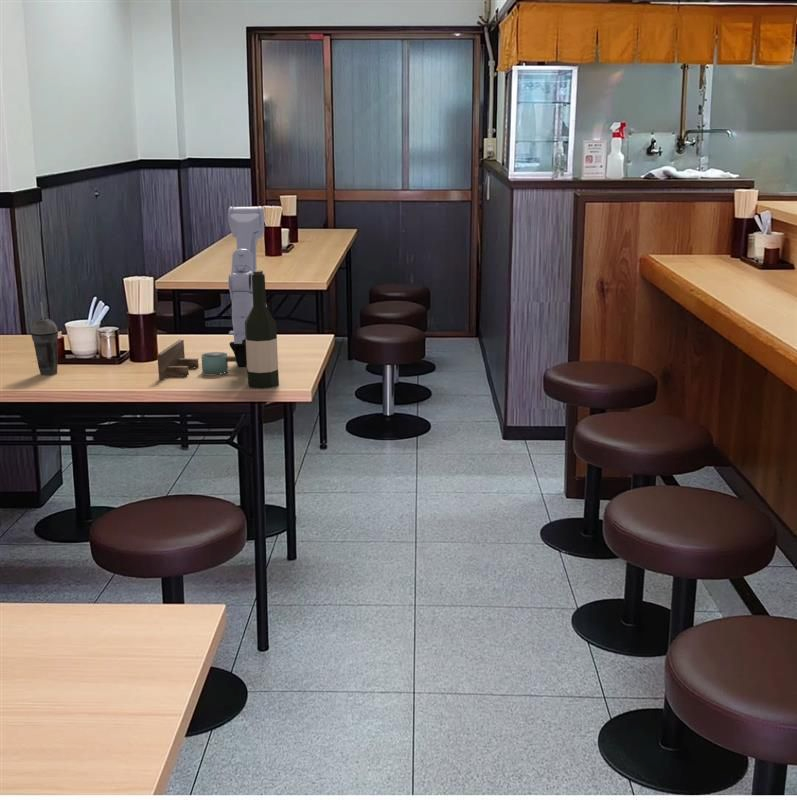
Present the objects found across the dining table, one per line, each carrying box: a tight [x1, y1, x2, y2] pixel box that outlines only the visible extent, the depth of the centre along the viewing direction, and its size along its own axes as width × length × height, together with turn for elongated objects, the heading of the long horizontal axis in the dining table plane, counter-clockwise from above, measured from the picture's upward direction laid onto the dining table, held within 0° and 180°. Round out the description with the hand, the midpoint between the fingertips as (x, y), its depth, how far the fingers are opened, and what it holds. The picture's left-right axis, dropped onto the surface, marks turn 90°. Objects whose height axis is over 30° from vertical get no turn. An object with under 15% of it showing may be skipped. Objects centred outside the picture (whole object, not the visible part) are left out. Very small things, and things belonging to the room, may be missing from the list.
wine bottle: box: [245, 269, 280, 389], centre depth 262 cm, size 8×8×30 cm
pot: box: [201, 351, 237, 375], centre depth 280 cm, size 14×7×5 cm, turn 85°
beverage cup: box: [30, 301, 59, 376], centre depth 278 cm, size 7×7×20 cm
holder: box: [156, 339, 200, 380], centre depth 281 cm, size 6×20×7 cm, turn 175°
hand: (245, 364), depth 279 cm, fingers open, 7 cm apart
